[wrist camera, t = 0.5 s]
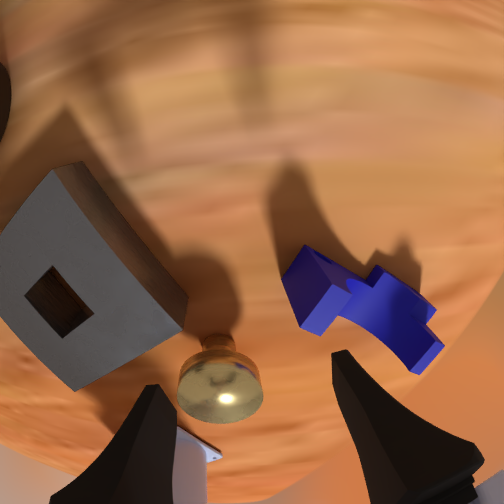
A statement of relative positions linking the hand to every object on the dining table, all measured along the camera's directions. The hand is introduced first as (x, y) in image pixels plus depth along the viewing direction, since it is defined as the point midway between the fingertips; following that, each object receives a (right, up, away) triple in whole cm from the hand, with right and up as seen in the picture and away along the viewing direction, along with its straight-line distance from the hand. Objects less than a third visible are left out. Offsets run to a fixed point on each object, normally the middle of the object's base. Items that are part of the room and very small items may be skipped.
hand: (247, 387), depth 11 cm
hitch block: (-13, +4, +8) cm, 15 cm away
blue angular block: (+8, +3, +11) cm, 14 cm away
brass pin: (-2, -2, +12) cm, 12 cm away
